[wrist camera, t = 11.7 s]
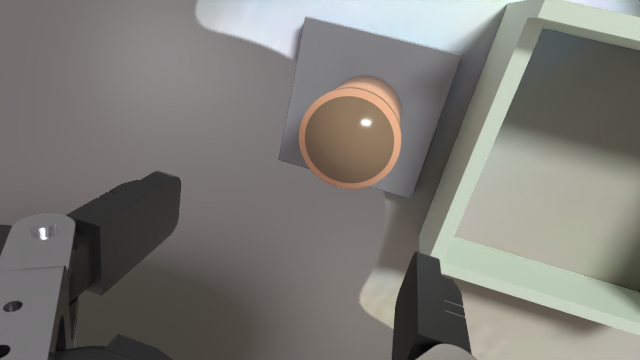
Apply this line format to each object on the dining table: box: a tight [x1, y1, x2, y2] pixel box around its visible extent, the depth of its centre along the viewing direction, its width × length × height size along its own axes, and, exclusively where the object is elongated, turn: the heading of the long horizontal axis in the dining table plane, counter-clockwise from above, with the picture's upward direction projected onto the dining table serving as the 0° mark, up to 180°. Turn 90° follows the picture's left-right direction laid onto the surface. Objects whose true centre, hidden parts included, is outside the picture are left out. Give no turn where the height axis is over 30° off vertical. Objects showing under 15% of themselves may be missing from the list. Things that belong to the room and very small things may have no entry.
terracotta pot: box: [299, 75, 402, 189], centre depth 28 cm, size 6×6×8 cm
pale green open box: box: [419, 0, 640, 335], centre depth 27 cm, size 20×20×9 cm
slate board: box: [279, 17, 462, 199], centre depth 32 cm, size 12×12×2 cm
